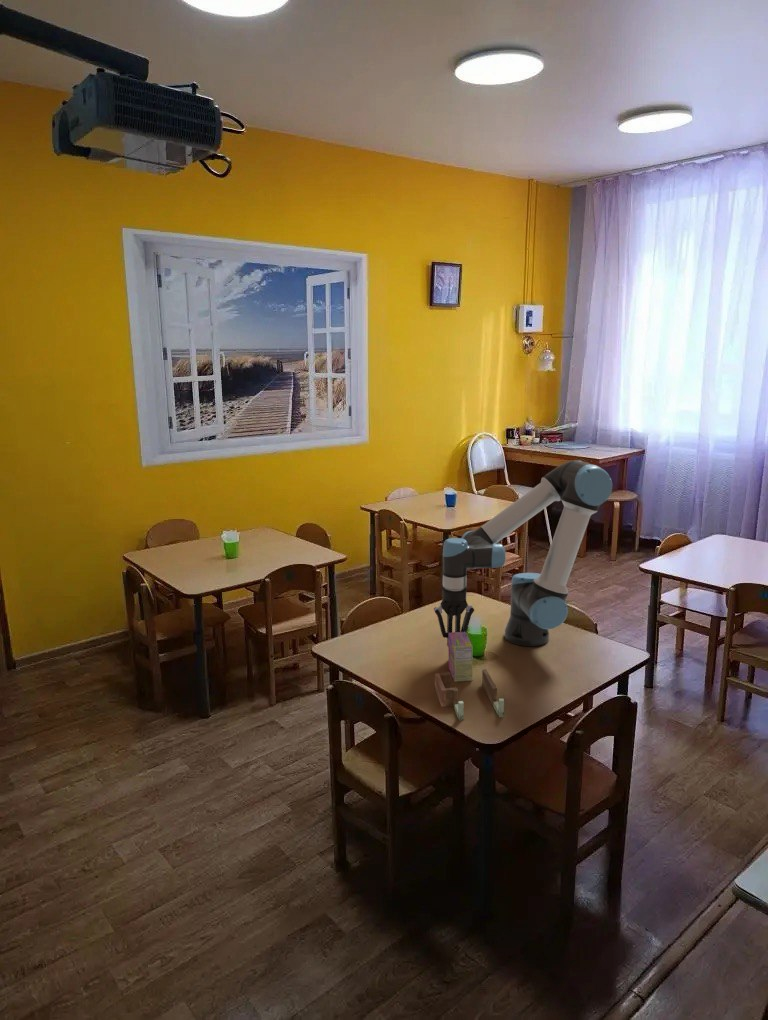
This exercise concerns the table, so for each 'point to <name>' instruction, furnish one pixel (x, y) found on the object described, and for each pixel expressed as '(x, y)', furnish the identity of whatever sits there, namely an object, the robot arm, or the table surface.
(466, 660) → the box
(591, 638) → the table surface
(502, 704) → the kerbs
